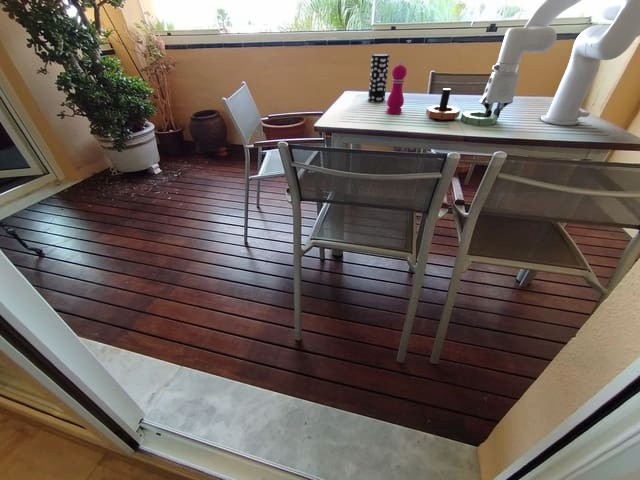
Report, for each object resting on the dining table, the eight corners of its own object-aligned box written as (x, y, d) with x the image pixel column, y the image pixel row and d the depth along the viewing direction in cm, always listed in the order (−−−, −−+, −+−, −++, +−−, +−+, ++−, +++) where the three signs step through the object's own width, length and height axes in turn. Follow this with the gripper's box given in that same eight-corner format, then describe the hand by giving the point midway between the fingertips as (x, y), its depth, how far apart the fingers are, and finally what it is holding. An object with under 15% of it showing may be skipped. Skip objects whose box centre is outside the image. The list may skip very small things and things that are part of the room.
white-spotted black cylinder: (372, 98, 157) (376, 53, 145) (387, 100, 153) (392, 54, 141) (365, 101, 152) (368, 55, 140) (379, 103, 148) (384, 56, 136)
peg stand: (446, 114, 129) (453, 86, 123) (453, 120, 123) (460, 90, 116) (428, 115, 129) (434, 87, 123) (434, 120, 123) (440, 91, 116)
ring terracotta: (451, 111, 130) (452, 105, 129) (462, 118, 121) (464, 112, 119) (423, 111, 130) (424, 105, 129) (432, 119, 120) (433, 113, 119)
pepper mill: (382, 112, 133) (388, 61, 121) (391, 109, 137) (397, 59, 125) (396, 115, 129) (404, 62, 117) (405, 112, 133) (413, 60, 121)
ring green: (486, 116, 126) (487, 110, 125) (500, 125, 116) (502, 118, 115) (456, 117, 126) (458, 111, 125) (469, 125, 116) (470, 119, 115)
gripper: (489, 70, 107) (474, 123, 118) (534, 69, 107) (514, 122, 118) (480, 67, 113) (466, 118, 124) (522, 66, 113) (505, 117, 124)
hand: (490, 119), depth 121 cm, fingers closed on ring green, 2 cm apart
